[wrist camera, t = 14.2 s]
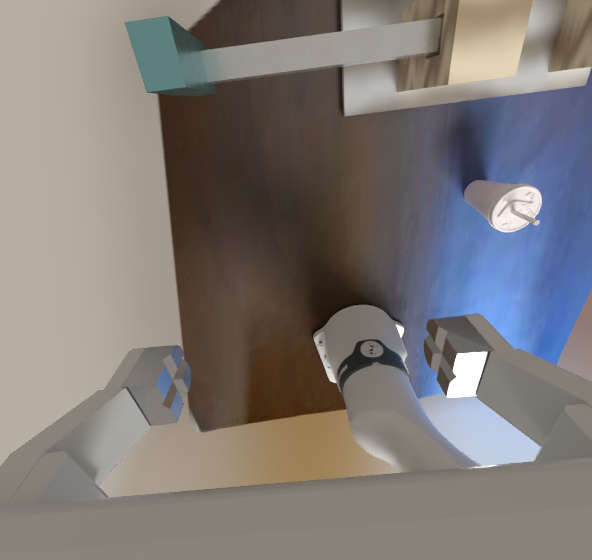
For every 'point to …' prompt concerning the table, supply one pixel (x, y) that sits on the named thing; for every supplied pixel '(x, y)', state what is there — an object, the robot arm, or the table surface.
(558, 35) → the stand
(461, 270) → the table surface
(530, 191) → the smoothie
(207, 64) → the shaft
